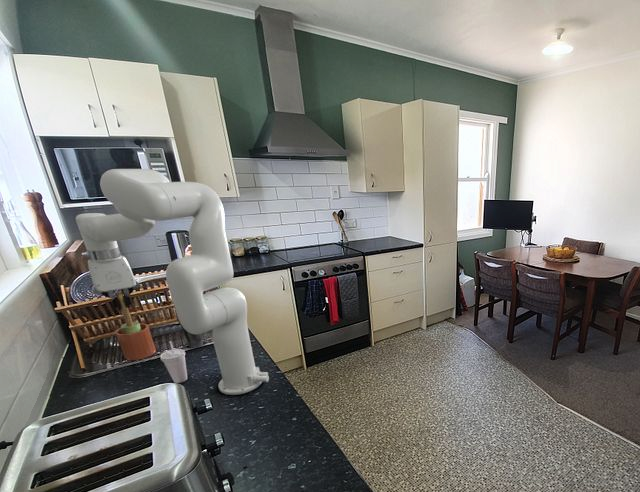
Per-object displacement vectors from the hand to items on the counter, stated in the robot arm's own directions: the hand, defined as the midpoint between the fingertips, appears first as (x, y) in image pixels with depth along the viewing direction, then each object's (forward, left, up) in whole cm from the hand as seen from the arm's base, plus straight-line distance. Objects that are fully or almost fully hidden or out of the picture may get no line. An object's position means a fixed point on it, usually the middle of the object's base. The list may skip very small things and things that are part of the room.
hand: (123, 307), depth 117 cm
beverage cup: (-15, -8, -18) cm, 25 cm away
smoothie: (-24, +15, -18) cm, 34 cm away
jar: (0, 0, -18) cm, 18 cm away
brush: (0, 0, -11) cm, 11 cm away
